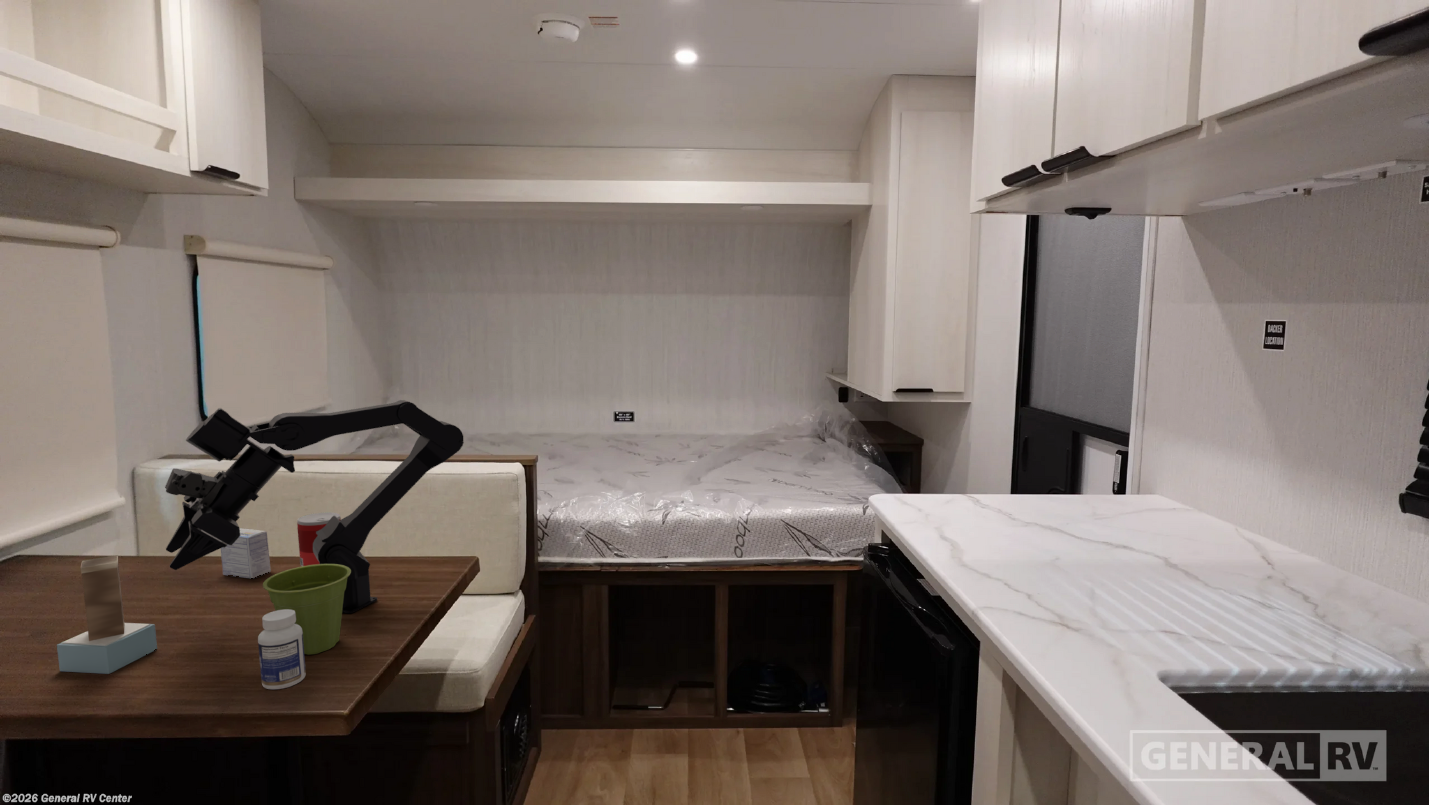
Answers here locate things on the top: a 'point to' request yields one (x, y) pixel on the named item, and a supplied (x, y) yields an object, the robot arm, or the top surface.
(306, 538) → the canned food
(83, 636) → the stand
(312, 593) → the plant pot
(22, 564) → the top surface
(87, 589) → the beige block
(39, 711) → the top surface
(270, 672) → the pill bottle
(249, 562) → the medicine box
